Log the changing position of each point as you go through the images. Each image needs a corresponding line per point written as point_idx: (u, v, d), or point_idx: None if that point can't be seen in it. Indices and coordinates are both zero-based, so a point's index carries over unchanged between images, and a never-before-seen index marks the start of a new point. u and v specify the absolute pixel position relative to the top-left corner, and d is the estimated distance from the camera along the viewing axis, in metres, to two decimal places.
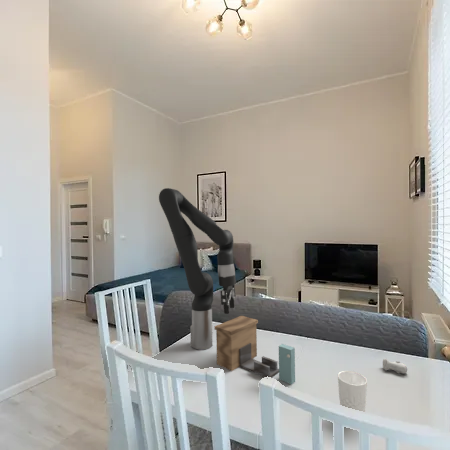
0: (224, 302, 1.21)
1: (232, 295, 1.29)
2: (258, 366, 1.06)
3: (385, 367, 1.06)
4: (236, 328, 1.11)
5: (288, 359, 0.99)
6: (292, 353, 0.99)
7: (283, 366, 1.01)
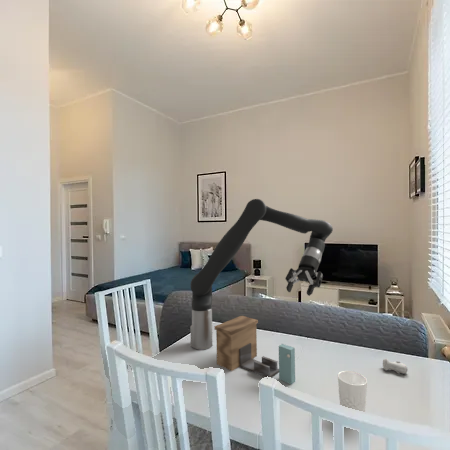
0: (318, 283, 1.10)
1: (297, 280, 1.17)
2: (258, 366, 1.06)
3: (385, 367, 1.06)
4: (236, 328, 1.11)
5: (288, 359, 0.99)
6: (292, 353, 0.99)
7: (283, 366, 1.01)
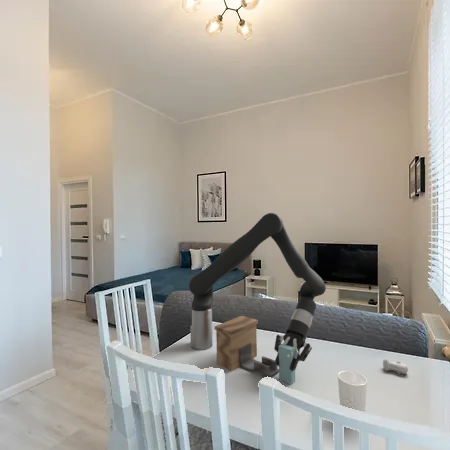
0: (303, 357, 0.99)
1: None
2: (258, 366, 1.06)
3: (385, 367, 1.06)
4: (236, 328, 1.11)
5: (288, 359, 0.99)
6: (292, 353, 0.99)
7: (283, 366, 1.01)
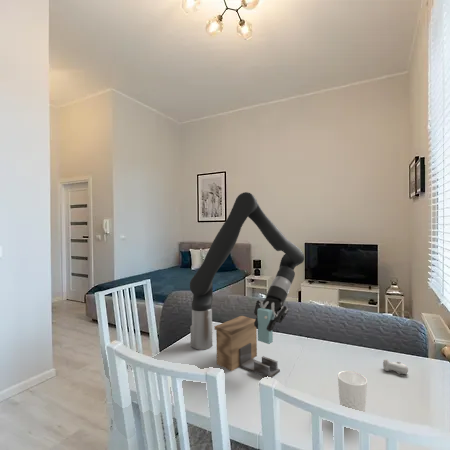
0: (280, 319, 1.05)
1: None
2: (258, 366, 1.06)
3: (386, 368, 1.06)
4: (236, 328, 1.11)
5: (266, 320, 1.05)
6: (269, 315, 1.05)
7: (261, 327, 1.07)
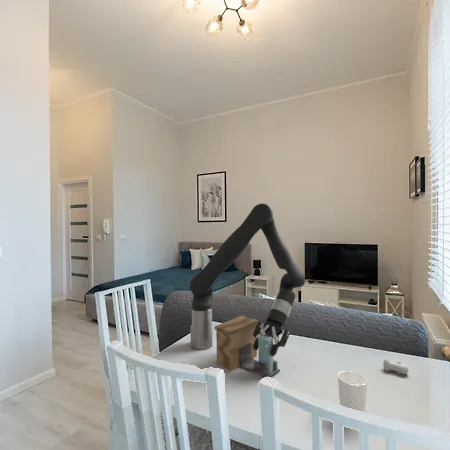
0: (283, 343, 1.05)
1: None
2: (258, 366, 1.06)
3: (386, 368, 1.06)
4: (236, 328, 1.11)
5: (266, 349, 1.05)
6: (270, 343, 1.05)
7: (262, 356, 1.07)
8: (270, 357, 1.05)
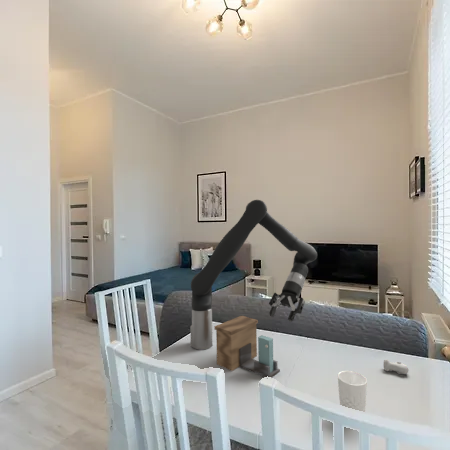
0: (300, 310, 1.13)
1: (281, 305, 1.21)
2: (258, 366, 1.06)
3: (386, 368, 1.06)
4: (236, 328, 1.11)
5: (266, 349, 1.05)
6: (270, 343, 1.05)
7: (262, 356, 1.07)
8: (270, 357, 1.05)
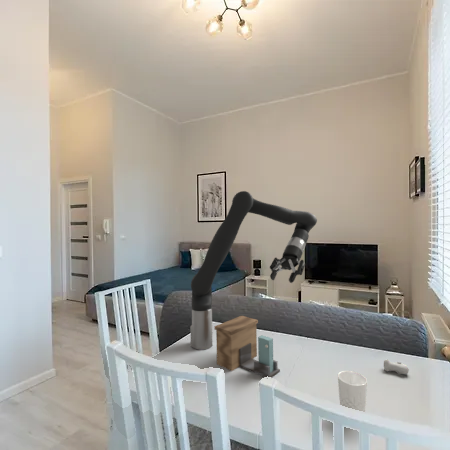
0: (300, 271, 1.14)
1: (281, 269, 1.21)
2: (258, 366, 1.06)
3: (386, 368, 1.06)
4: (236, 328, 1.11)
5: (266, 349, 1.05)
6: (270, 343, 1.05)
7: (262, 356, 1.07)
8: (270, 357, 1.05)
